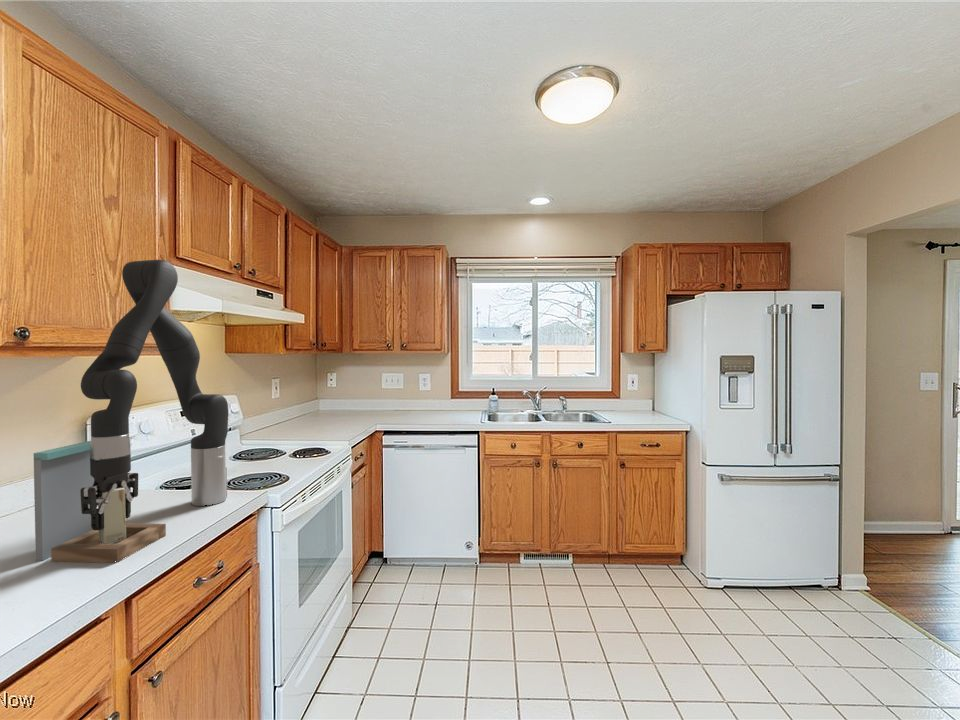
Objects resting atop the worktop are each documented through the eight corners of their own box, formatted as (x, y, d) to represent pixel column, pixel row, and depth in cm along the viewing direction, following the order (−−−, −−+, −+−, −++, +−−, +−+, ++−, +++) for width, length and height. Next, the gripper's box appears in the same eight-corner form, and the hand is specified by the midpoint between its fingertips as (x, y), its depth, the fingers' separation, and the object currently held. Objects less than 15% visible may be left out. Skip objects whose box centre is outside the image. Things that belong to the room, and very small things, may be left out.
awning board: (90, 535, 117) (88, 441, 117) (102, 535, 117) (101, 441, 117) (35, 560, 103) (33, 453, 103) (49, 560, 103) (47, 453, 103)
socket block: (108, 535, 118) (107, 523, 118) (165, 535, 117) (165, 523, 117) (51, 561, 103) (51, 548, 103) (117, 562, 102) (117, 549, 102)
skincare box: (127, 540, 110) (126, 488, 109) (103, 546, 106) (102, 493, 106) (120, 533, 114) (119, 483, 114) (98, 538, 111) (97, 487, 110)
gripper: (119, 447, 117) (121, 513, 117) (67, 461, 103) (68, 535, 103) (148, 447, 117) (150, 513, 117) (100, 461, 102) (101, 535, 103)
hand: (111, 523), depth 110 cm, fingers closed on skincare box, 7 cm apart
